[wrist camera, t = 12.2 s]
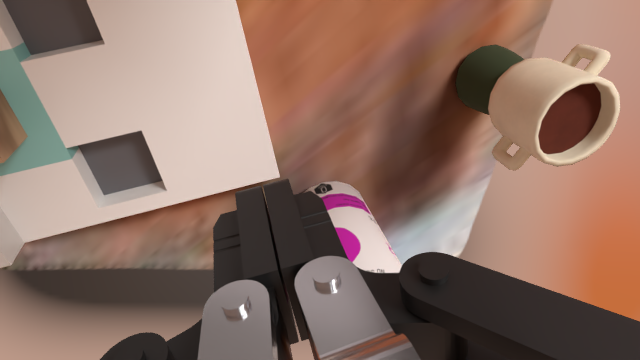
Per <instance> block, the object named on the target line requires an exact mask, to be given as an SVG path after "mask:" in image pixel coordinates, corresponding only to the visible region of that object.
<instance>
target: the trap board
mask: <svg viewBox="0 0 640 360" xmlns="http://www.w3.org/2000/svg"><path fill="white" fill-rule="evenodd" d="M0 89H1V91H2V93H3V94H4V96H5V98H6V100H7V101H8V103H9V105H10V106H11V108H12V110H13V112H14V113H15V115H16V117H17V118H18V120H19V122H20V124H21V125H22V127H23V129H24V130H25V132H26V134H27V136H28V137H27V138H26V139H25V140H24V141H23V142H22V143H21V145H20V146H19V147H18V148H17V149H16V150H15V151H14V152H13V153H12V154H11V155H10V157H9V158H8V159H7V160H6V161H5V162H4V163H0V268H2V267H6V266H10V265H12V263H13V261H14V260H15V258H16V256H17V255H18V253H19V251H20V250H21V248H22V246H23V245H24V243H26V242H30V241H34V240H37V239H41V238H45V237H49V236H53V235H57V234H61V233H65V232H68V231H72V230H76V229H80V228H84V227H88V226H92V225H96V224H100V223H103V222H107V221H111V220H115V219H119V218H123V217H127V216H131V215H134V214H138V213H142V212H146V211H150V210H154V209H158V208H162V207H166V206H169V205H173V204H177V203H181V202H185V201H189V200H193V199H197V198H200V197H204V196H208V195H212V194H216V193H220V192H224V191H228V190H232V189H235V188H239V187H243V186H247V185H251V184H255V183H259V182H263V181H266V180H270V179H274V178H278V177H280V175H279V171H278V167H277V163H276V159H275V155H274V151H273V147H272V144H271V140H270V136H269V132H268V128H267V124H266V120H265V116H264V112H263V108H262V104H261V100H260V96H259V92H258V88H257V84H256V80H255V76H254V72H253V68H252V64H251V60H250V56H249V52H248V48H247V44H246V40H245V36H244V32H243V28H242V24H241V20H240V16H239V12H238V8H237V4H236V0H0Z"/></svg>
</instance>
